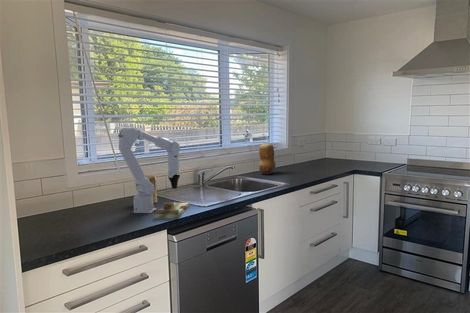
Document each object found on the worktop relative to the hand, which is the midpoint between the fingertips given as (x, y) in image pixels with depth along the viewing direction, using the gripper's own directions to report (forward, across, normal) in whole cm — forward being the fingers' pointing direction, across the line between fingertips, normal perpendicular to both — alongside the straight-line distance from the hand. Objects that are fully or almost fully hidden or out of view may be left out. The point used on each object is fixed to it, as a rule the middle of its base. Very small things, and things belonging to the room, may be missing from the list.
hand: (174, 188), depth 189 cm
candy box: (+10, +6, +17) cm, 21 cm away
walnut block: (+7, -18, -2) cm, 20 cm away
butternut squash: (+10, +97, -50) cm, 110 cm away
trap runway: (+9, -13, -2) cm, 16 cm away
